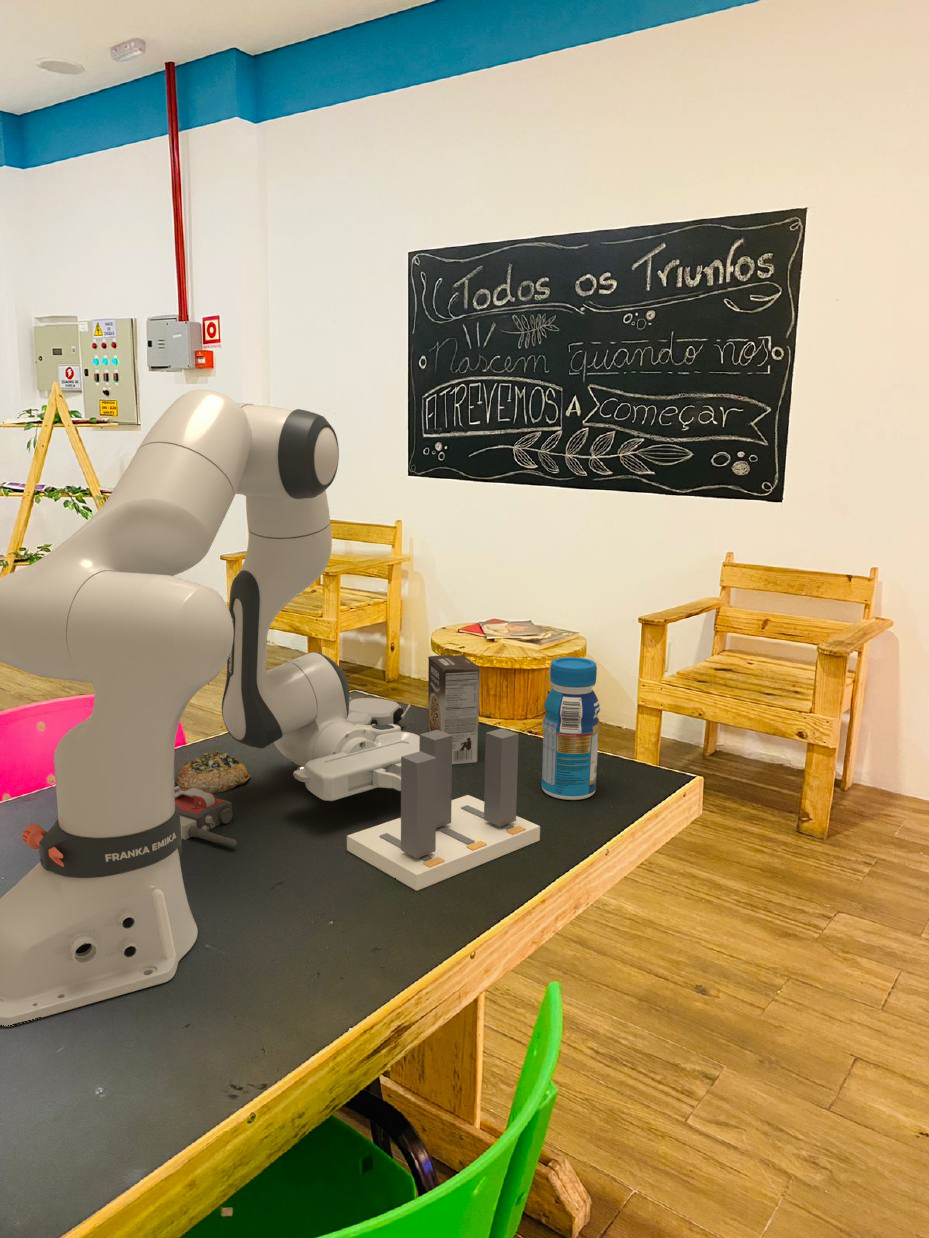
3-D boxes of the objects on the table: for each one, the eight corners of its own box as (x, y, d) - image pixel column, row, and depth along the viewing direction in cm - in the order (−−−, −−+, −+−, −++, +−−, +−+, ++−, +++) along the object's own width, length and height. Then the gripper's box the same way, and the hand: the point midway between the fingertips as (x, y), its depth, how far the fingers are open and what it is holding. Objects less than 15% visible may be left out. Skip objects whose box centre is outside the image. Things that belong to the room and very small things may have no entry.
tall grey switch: (416, 858, 110) (417, 763, 108) (400, 850, 112) (401, 756, 110) (435, 851, 112) (436, 757, 110) (419, 843, 114) (420, 751, 112)
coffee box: (426, 747, 156) (427, 655, 153) (462, 744, 158) (464, 653, 155) (441, 766, 148) (442, 668, 145) (479, 762, 150) (481, 666, 147)
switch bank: (416, 890, 108) (416, 873, 107) (346, 850, 118) (346, 834, 117) (539, 840, 121) (540, 824, 121) (467, 807, 132) (468, 793, 131)
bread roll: (199, 764, 147) (201, 735, 146) (262, 781, 144) (264, 752, 143) (158, 792, 137) (160, 761, 135) (225, 811, 134) (227, 779, 133)
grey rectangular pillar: (433, 829, 118) (434, 740, 116) (418, 821, 121) (419, 734, 118) (451, 822, 120) (452, 735, 118) (436, 815, 123) (437, 729, 120)
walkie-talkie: (121, 822, 126) (230, 857, 116) (119, 791, 125) (228, 824, 115) (171, 801, 133) (276, 832, 124) (169, 772, 132) (276, 801, 123)
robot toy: (379, 754, 156) (412, 722, 169) (378, 729, 155) (412, 699, 168) (314, 745, 160) (352, 715, 173) (313, 721, 158) (351, 692, 172)
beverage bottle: (528, 789, 139) (532, 660, 135) (566, 776, 144) (571, 652, 140) (570, 806, 133) (576, 672, 129) (608, 792, 138) (614, 663, 134)
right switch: (499, 826, 119) (502, 738, 117) (483, 819, 122) (485, 732, 119) (516, 820, 121) (518, 733, 119) (500, 813, 124) (502, 728, 121)
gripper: (286, 750, 126) (345, 778, 116) (403, 721, 139) (465, 744, 129) (287, 793, 127) (345, 825, 117) (403, 761, 141) (464, 787, 131)
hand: (409, 782), depth 123 cm, fingers closed
